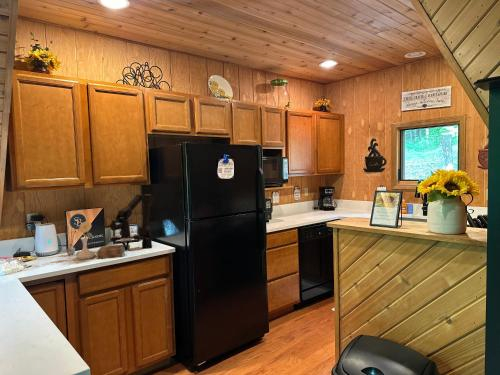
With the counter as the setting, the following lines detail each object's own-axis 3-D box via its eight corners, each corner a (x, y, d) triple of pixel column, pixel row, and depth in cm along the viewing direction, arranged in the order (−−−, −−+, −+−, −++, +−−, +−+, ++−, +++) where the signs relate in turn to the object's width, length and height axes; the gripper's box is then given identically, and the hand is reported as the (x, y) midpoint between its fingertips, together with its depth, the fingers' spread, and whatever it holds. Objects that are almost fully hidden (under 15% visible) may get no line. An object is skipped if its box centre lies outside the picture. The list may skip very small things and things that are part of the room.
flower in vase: (72, 259, 226) (70, 221, 224) (87, 255, 236) (85, 219, 234) (85, 261, 219) (83, 222, 218) (100, 257, 229) (98, 220, 228)
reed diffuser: (63, 256, 235) (61, 227, 233) (65, 254, 241) (64, 225, 240) (79, 255, 237) (78, 226, 236) (81, 252, 244) (80, 224, 243)
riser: (130, 249, 251) (130, 244, 251) (129, 250, 247) (129, 245, 247) (124, 249, 250) (124, 244, 250) (123, 250, 246) (123, 246, 246)
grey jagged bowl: (124, 251, 243) (124, 243, 242) (122, 256, 229) (121, 248, 229) (104, 253, 239) (103, 245, 239) (100, 258, 226) (100, 249, 226)
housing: (123, 252, 242) (122, 244, 242) (120, 256, 229) (120, 249, 229) (102, 253, 239) (101, 246, 239) (98, 258, 226) (97, 250, 225)
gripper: (140, 225, 245) (141, 246, 246) (112, 227, 241) (113, 249, 242) (139, 227, 234) (140, 250, 235) (109, 229, 230) (111, 252, 231)
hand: (126, 250), depth 236 cm, fingers closed
